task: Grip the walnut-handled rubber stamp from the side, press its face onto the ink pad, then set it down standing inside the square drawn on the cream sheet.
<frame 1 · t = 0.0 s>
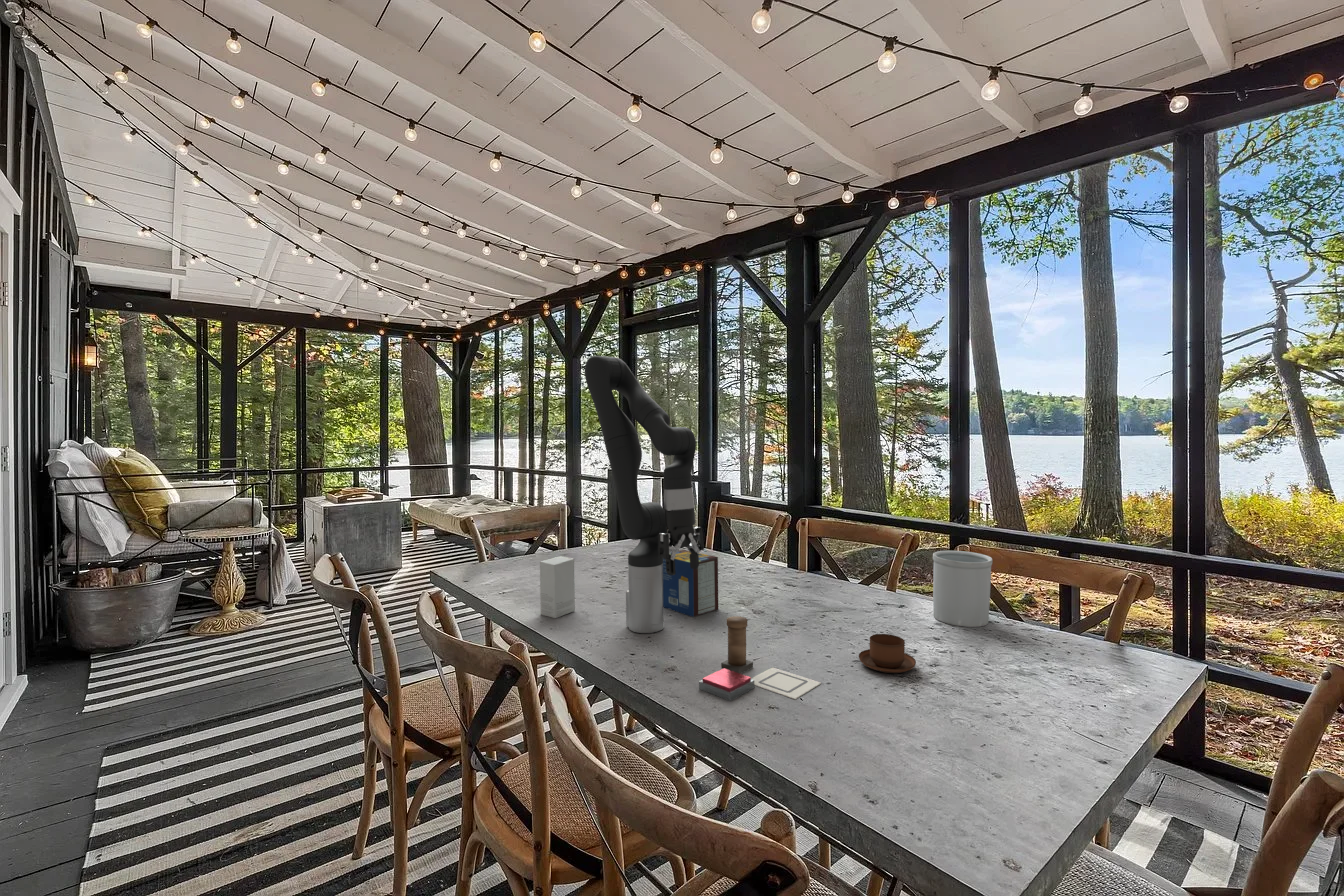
hand: (683, 571, 153), 17 cm above the table, tool pointing down, fingers open, 8 cm apart
sheet: (783, 682, 128), on the table
utensil holder: (961, 620, 168), on the table
skincare box: (558, 614, 176), on the table
cup and saucer: (886, 667, 136), on the table
stamp: (737, 667, 136), on the table
protein box: (687, 608, 181), on the table
ink pad: (726, 688, 125), on the table
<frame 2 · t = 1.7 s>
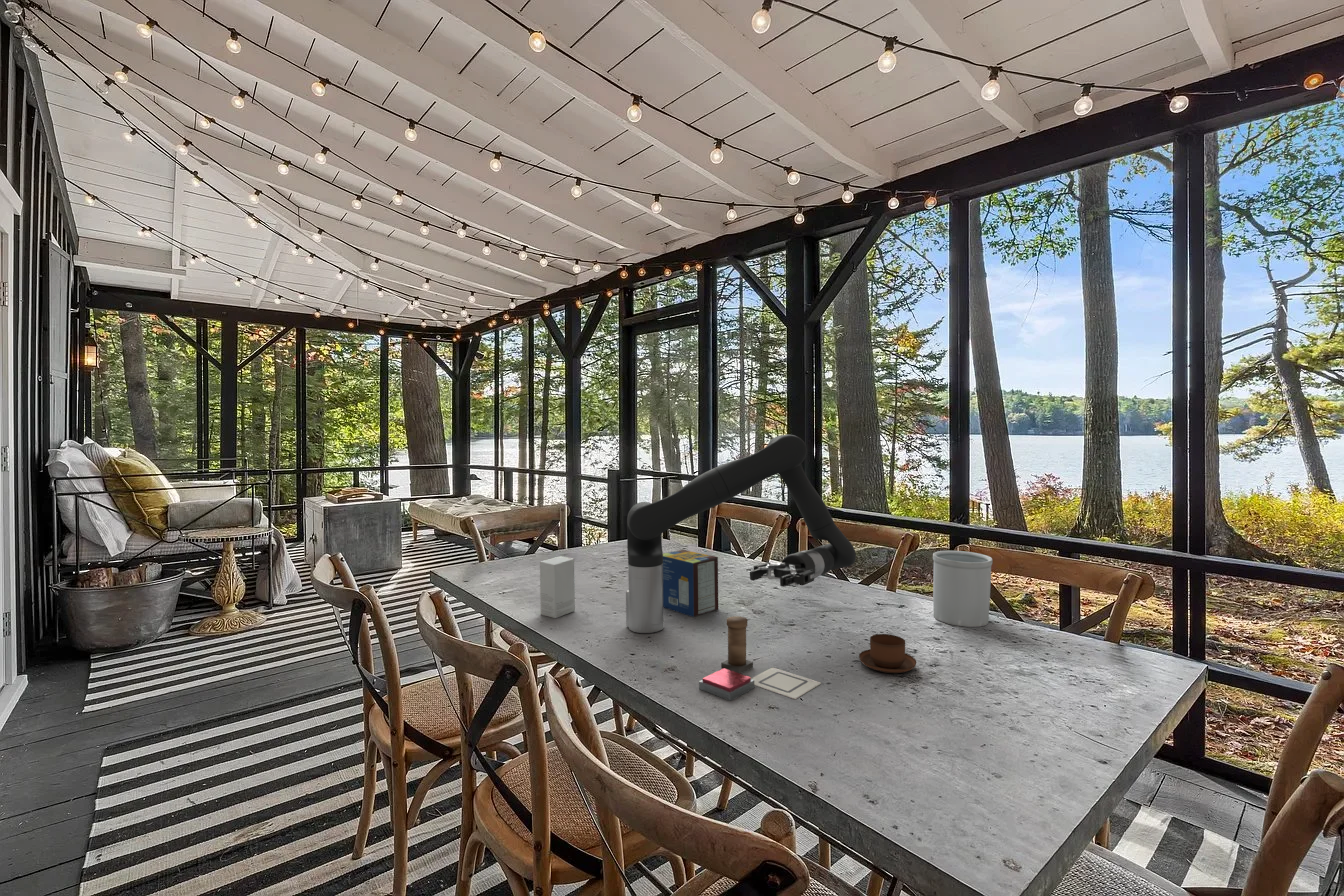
hand: (766, 579, 143), 18 cm above the table, tool horizontal, fingers open, 8 cm apart
nothing on the table moved.
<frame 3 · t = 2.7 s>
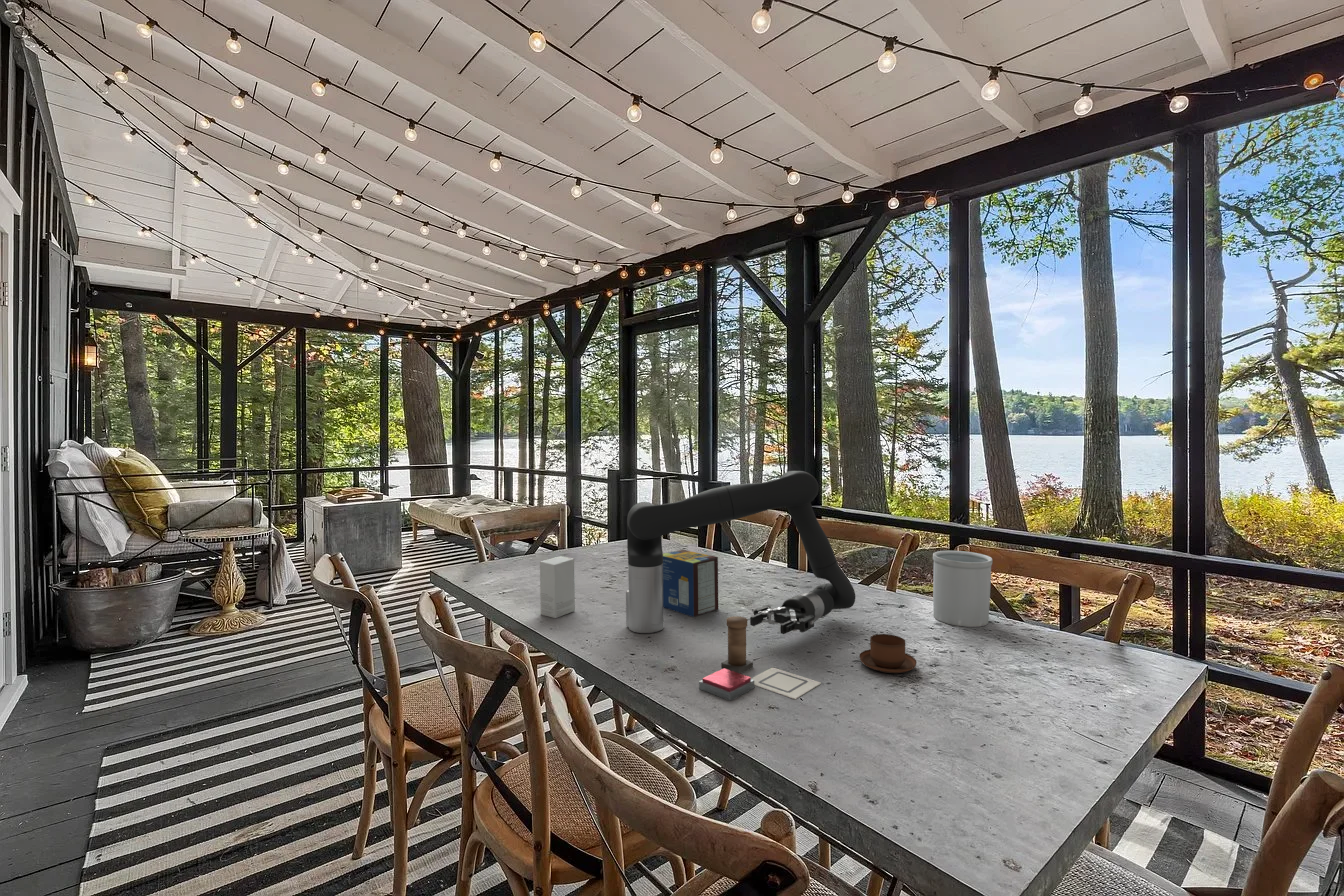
hand: (766, 625, 144), 7 cm above the table, tool horizontal, fingers open, 8 cm apart
nothing on the table moved.
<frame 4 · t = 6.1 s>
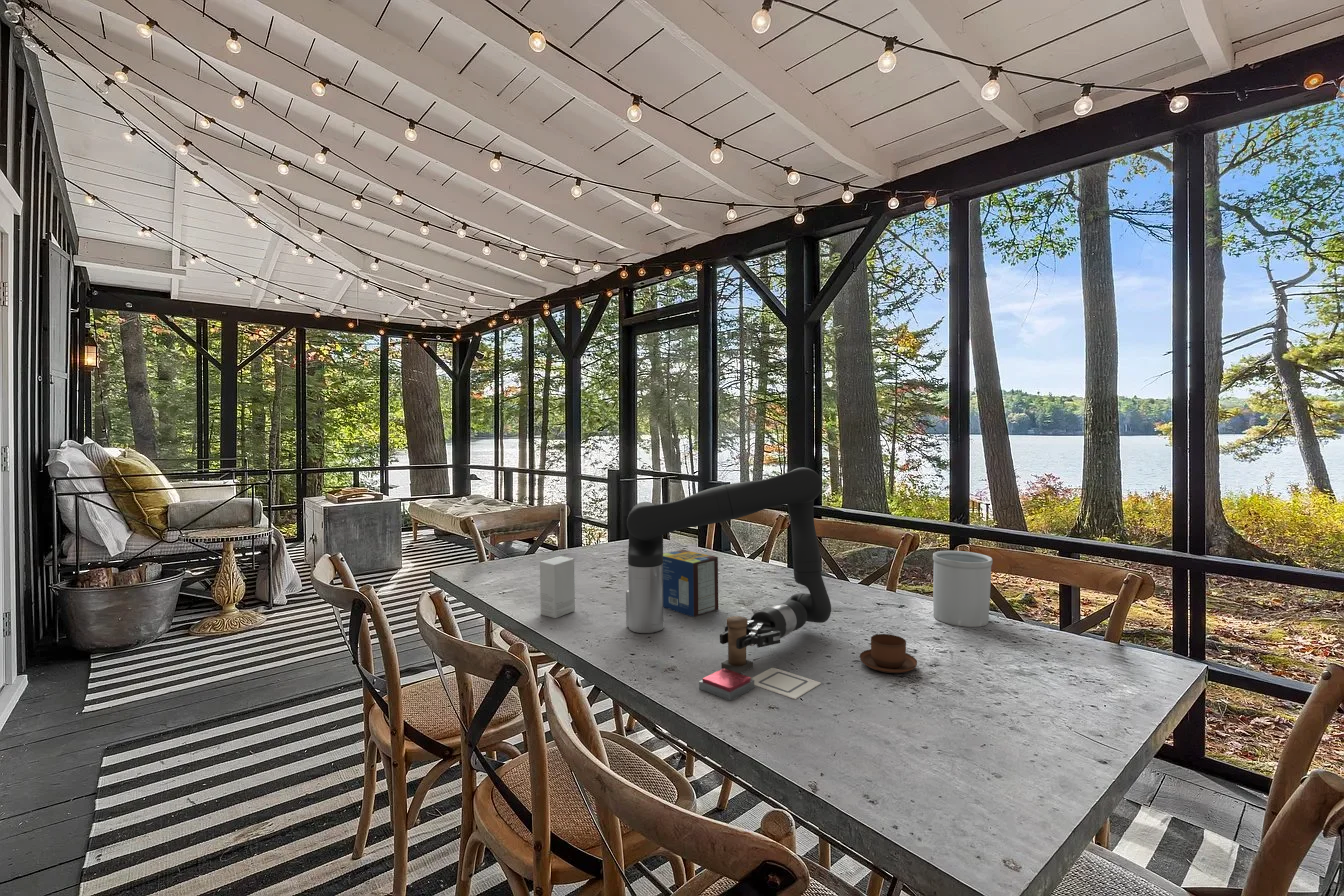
hand: (729, 641, 134), 7 cm above the table, tool horizontal, fingers closed on stamp, 4 cm apart
stamp: (737, 667, 136), on the table, touching gripper
everything else where it was.
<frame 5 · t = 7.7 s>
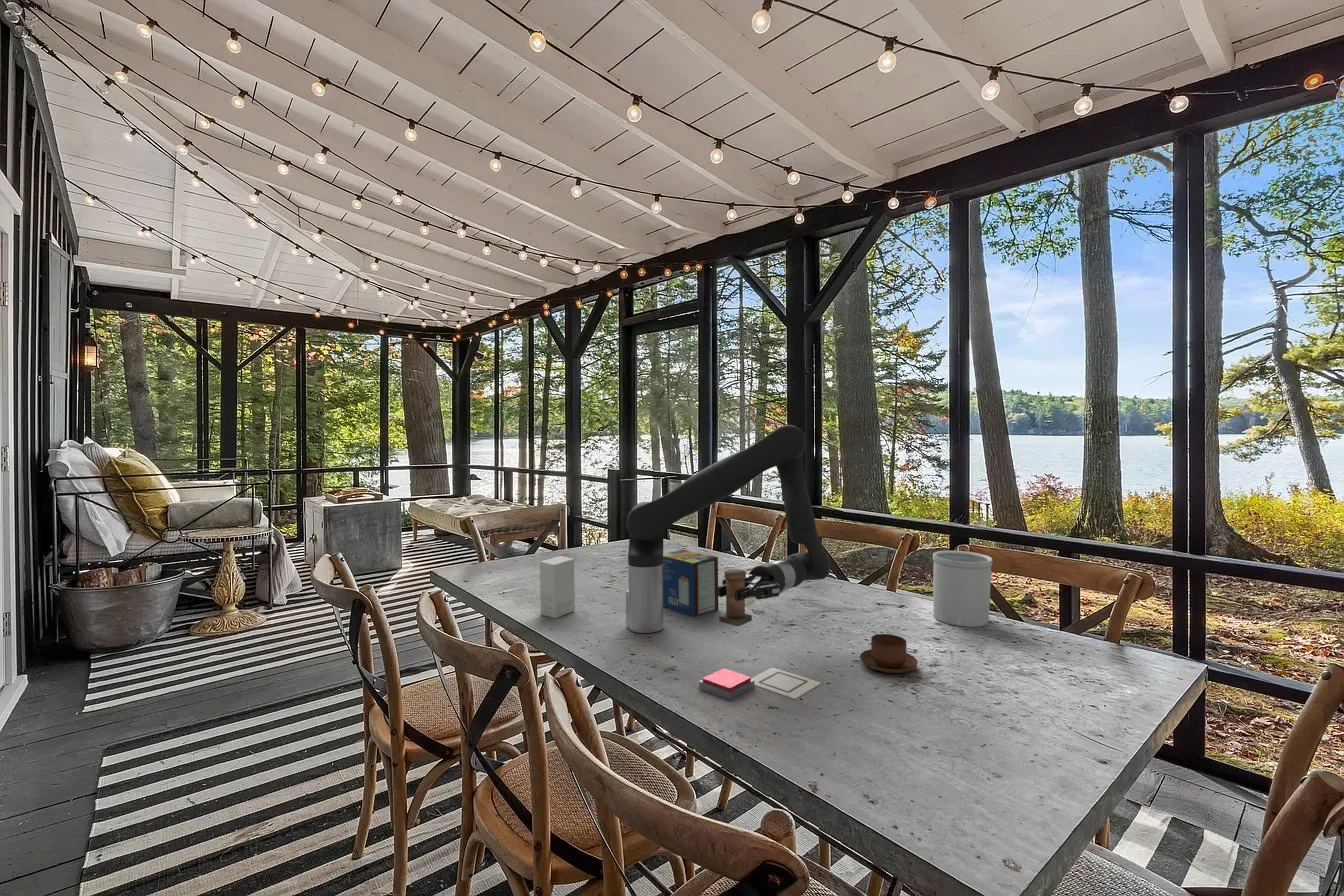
hand: (727, 593, 130), 18 cm above the table, tool horizontal, fingers closed on stamp, 4 cm apart
stamp: (735, 621, 133), point 11 cm above the table, touching gripper
everything else where it was.
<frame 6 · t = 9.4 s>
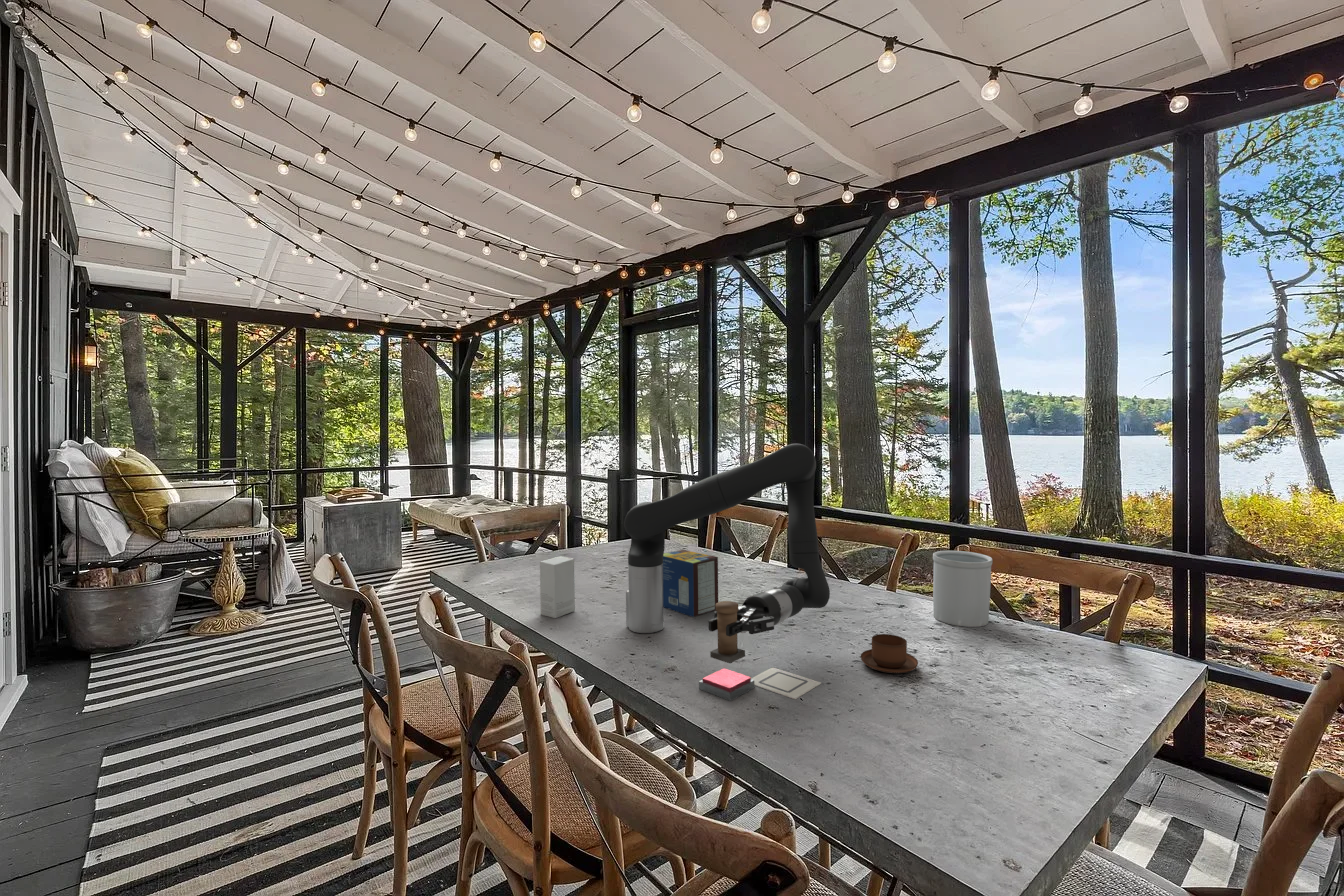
hand: (718, 628, 123), 13 cm above the table, tool horizontal, fingers closed on stamp, 4 cm apart
stamp: (727, 656, 125), point 7 cm above the table, touching gripper
everything else where it was.
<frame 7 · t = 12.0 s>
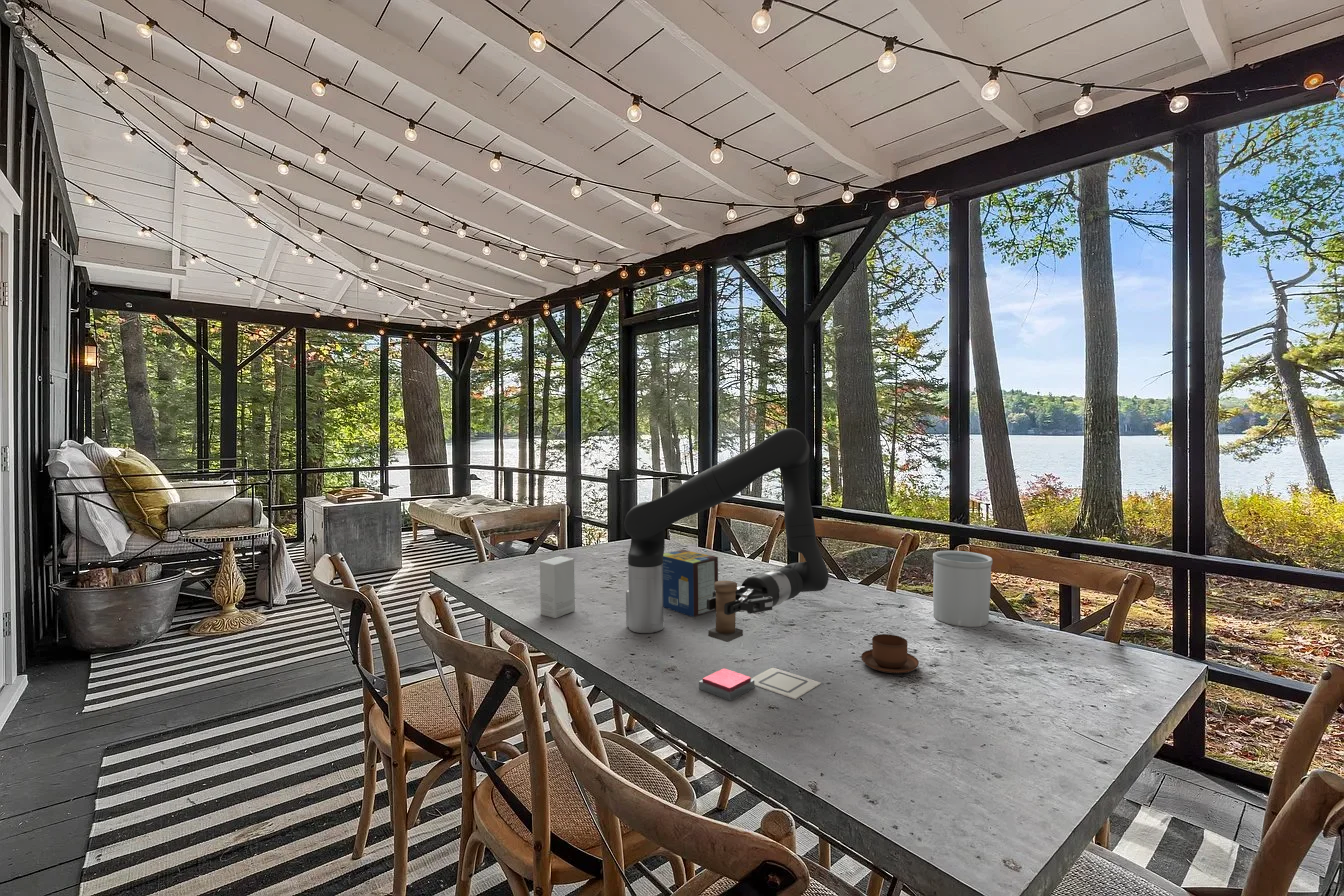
hand: (717, 607, 123), 17 cm above the table, tool horizontal, fingers closed on stamp, 4 cm apart
stamp: (725, 635, 125), point 11 cm above the table, touching gripper
everything else where it was.
when the fingers open (8 cm above the table, at t = 15.6 s): stamp drops 1 cm, resting on sheet.
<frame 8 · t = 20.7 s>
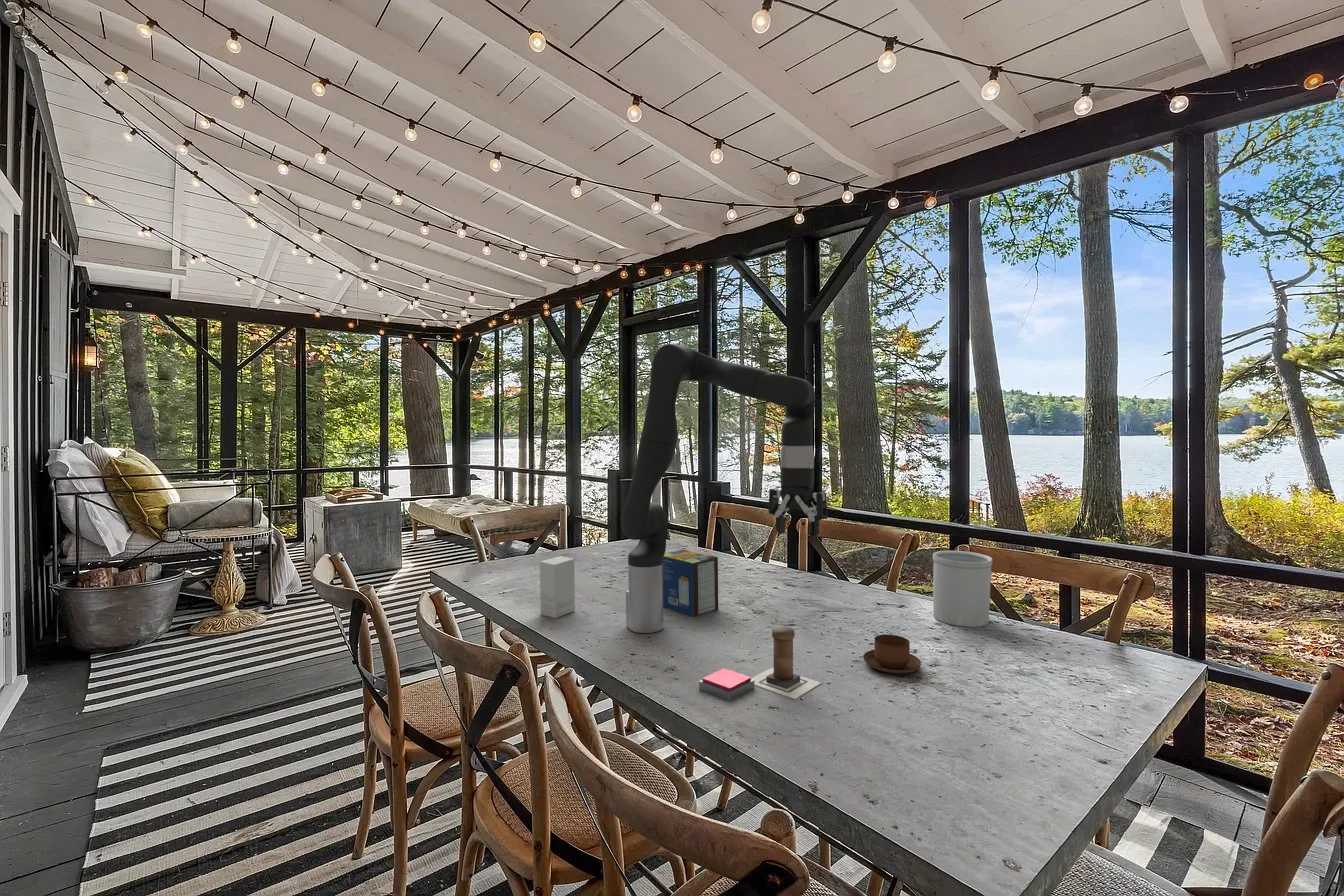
hand: (797, 535, 142), 28 cm above the table, tool pointing down, fingers open, 8 cm apart
stamp: (783, 681, 128), resting on sheet
at the end: stamp inside the target area on the sheet (0.1 cm from its centre), point 0.2 cm above the sheet's base; stamp tilted 0°; the gripper is holding nothing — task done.
